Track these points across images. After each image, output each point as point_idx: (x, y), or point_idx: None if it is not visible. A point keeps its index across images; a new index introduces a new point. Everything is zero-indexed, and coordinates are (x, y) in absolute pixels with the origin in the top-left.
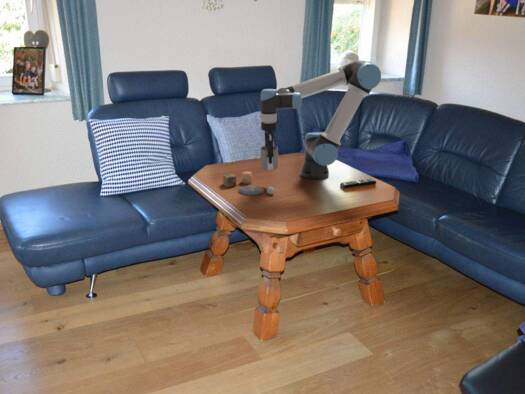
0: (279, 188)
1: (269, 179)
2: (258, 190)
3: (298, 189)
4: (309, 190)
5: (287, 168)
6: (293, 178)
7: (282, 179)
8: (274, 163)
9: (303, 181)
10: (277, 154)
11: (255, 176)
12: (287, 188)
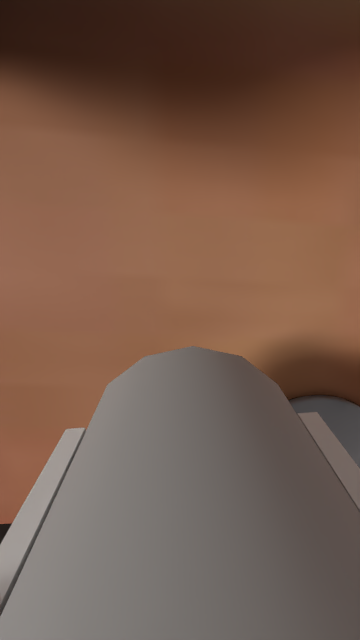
0: (265, 286)
1: (61, 349)
2: (335, 430)
3: (298, 128)
4: (333, 17)
5: None
6: (5, 150)
7: (47, 250)
8: (312, 441)
9: (78, 53)
10: (265, 523)
11: (9, 436)
12: (268, 224)
